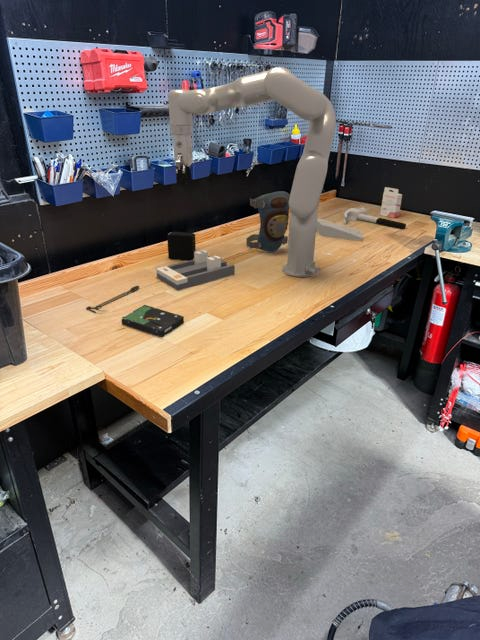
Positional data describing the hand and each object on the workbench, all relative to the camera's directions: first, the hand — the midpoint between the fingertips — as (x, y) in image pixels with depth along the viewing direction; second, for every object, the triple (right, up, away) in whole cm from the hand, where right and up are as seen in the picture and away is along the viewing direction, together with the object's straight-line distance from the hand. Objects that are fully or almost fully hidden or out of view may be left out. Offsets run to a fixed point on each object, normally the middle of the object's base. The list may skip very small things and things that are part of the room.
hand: (184, 182), depth 161 cm
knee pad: (+31, -19, +30) cm, 47 cm away
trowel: (+65, -10, +50) cm, 82 cm away
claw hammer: (+87, -1, +66) cm, 109 cm away
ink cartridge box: (+99, +6, +80) cm, 128 cm away
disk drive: (-5, -50, -31) cm, 59 cm away
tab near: (+11, -31, +1) cm, 33 cm away
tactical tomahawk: (-19, -43, -16) cm, 50 cm away
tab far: (+6, -28, +6) cm, 29 cm away
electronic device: (-3, -25, +18) cm, 31 cm away
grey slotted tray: (+4, -33, +2) cm, 33 cm away
